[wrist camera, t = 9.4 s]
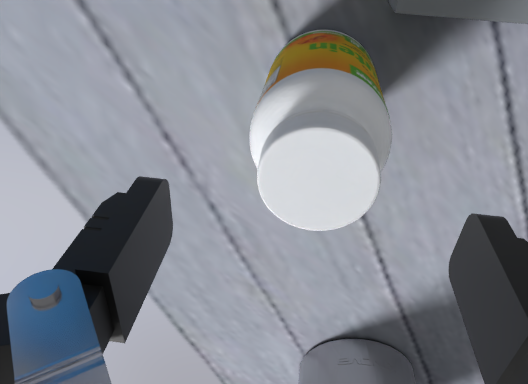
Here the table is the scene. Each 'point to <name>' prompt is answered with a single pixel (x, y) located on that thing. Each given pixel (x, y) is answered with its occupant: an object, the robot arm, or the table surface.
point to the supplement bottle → (320, 132)
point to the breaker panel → (466, 9)
